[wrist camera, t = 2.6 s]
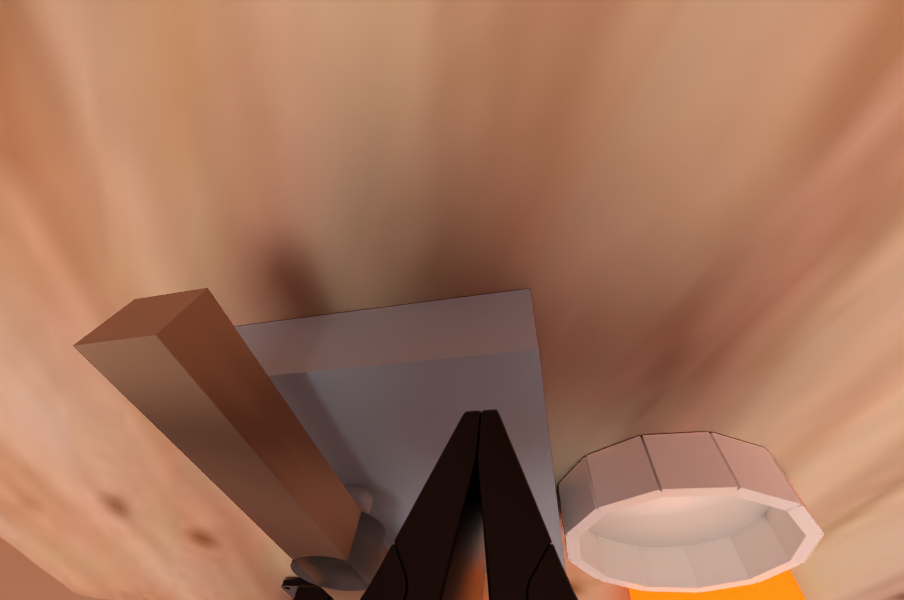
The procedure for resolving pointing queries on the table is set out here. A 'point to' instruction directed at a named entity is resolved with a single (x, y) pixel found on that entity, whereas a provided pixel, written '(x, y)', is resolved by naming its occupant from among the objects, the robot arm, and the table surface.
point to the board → (412, 392)
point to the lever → (238, 432)
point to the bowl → (684, 514)
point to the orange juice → (734, 591)
